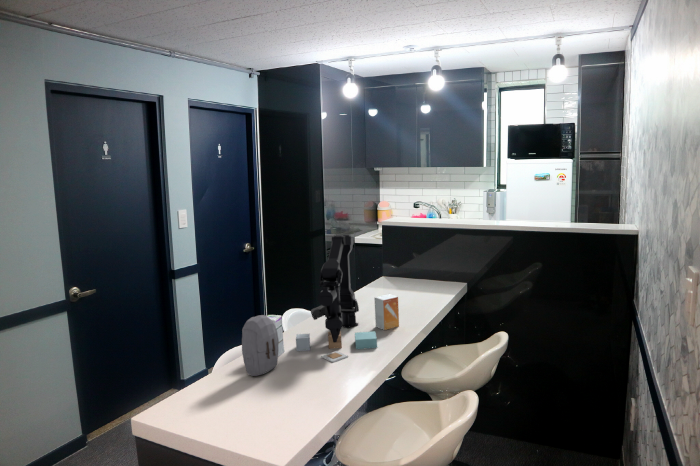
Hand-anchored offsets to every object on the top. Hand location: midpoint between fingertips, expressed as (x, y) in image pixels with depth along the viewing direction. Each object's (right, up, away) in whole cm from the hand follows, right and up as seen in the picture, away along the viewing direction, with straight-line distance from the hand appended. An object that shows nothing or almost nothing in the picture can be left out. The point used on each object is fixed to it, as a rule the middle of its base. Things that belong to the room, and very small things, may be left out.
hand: (334, 338), depth 197 cm
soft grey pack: (-24, -8, -21) cm, 32 cm away
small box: (+22, +1, +20) cm, 29 cm away
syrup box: (-23, -5, -4) cm, 24 cm away
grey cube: (-12, -4, 0) cm, 13 cm away
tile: (0, -5, -11) cm, 12 cm away
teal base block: (+12, -3, 0) cm, 12 cm away
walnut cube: (0, -3, 0) cm, 3 cm away
